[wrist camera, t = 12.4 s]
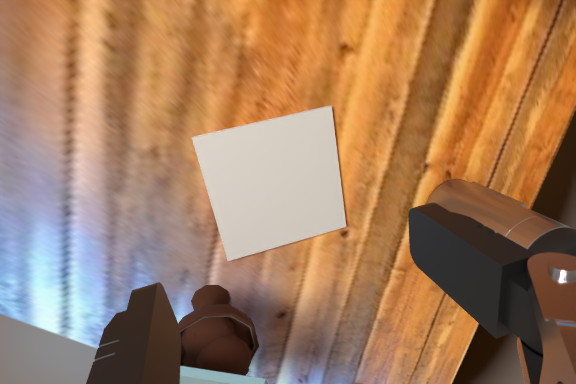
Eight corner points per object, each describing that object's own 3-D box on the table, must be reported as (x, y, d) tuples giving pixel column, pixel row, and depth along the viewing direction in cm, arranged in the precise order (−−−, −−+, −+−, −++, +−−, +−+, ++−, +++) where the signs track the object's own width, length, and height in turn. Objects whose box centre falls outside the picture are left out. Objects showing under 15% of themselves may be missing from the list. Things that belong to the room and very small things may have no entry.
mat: (329, 105, 45) (331, 105, 44) (344, 224, 52) (346, 226, 51) (191, 136, 42) (191, 137, 41) (227, 259, 49) (227, 261, 48)
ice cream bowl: (172, 269, 47) (164, 353, 34) (252, 269, 50) (274, 345, 37) (169, 331, 51) (160, 431, 37) (244, 327, 54) (261, 417, 40)
